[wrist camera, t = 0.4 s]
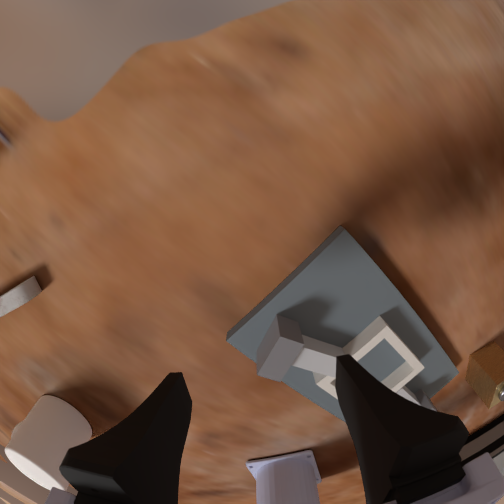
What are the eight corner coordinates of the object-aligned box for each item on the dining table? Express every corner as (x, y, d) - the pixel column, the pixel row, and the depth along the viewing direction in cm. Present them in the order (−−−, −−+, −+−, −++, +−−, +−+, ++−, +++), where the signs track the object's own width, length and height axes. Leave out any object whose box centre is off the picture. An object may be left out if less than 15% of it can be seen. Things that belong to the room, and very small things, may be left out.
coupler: (488, 365, 26) (515, 395, 19) (465, 378, 26) (491, 412, 20) (493, 341, 25) (524, 371, 18) (469, 354, 25) (500, 388, 19)
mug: (78, 500, 19) (19, 478, 20) (104, 440, 29) (46, 432, 29) (31, 457, 16) (-21, 437, 17) (69, 395, 26) (15, 391, 27)
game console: (384, 471, 32) (397, 512, 24) (532, 389, 29) (554, 414, 22) (376, 510, 38) (385, 539, 30) (501, 448, 35) (515, 470, 27)
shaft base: (454, 366, 25) (472, 388, 21) (372, 432, 28) (382, 458, 24) (340, 225, 21) (359, 240, 17) (227, 332, 23) (223, 364, 19)
